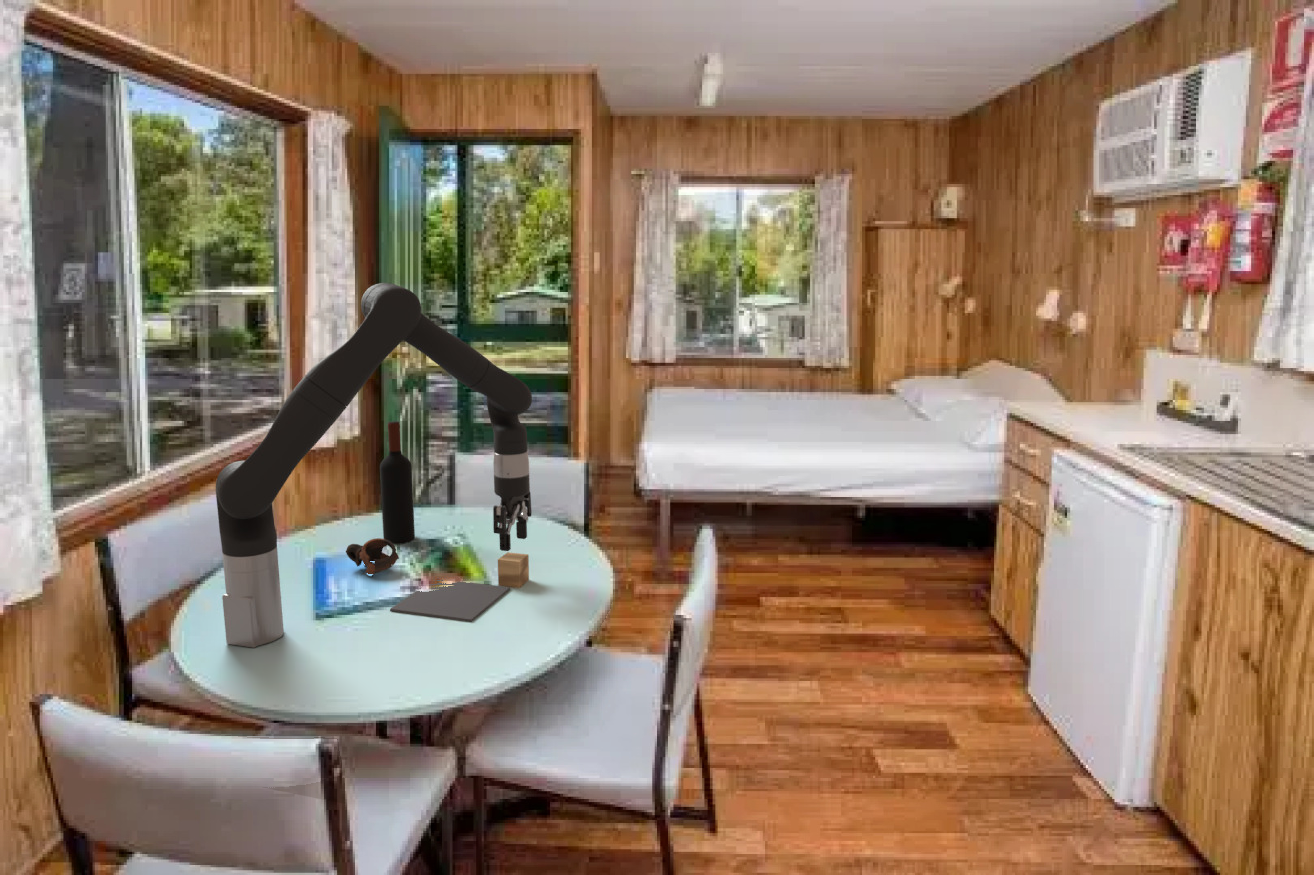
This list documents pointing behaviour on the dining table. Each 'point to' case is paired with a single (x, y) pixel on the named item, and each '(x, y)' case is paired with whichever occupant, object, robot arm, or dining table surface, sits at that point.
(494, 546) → the dining table surface
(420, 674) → the dining table surface
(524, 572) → the oak block
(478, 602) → the charcoal mat
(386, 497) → the wine bottle
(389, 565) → the brown hollow rounded piece
